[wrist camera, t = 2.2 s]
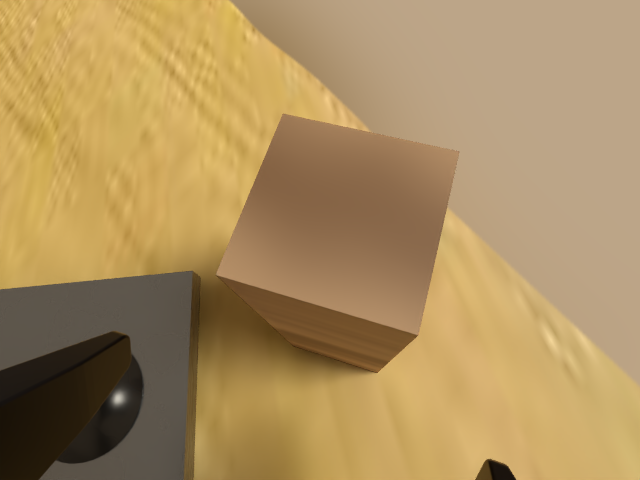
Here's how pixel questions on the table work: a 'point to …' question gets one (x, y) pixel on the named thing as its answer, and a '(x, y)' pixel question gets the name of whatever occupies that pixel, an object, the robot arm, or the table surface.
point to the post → (341, 239)
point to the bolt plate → (137, 382)
